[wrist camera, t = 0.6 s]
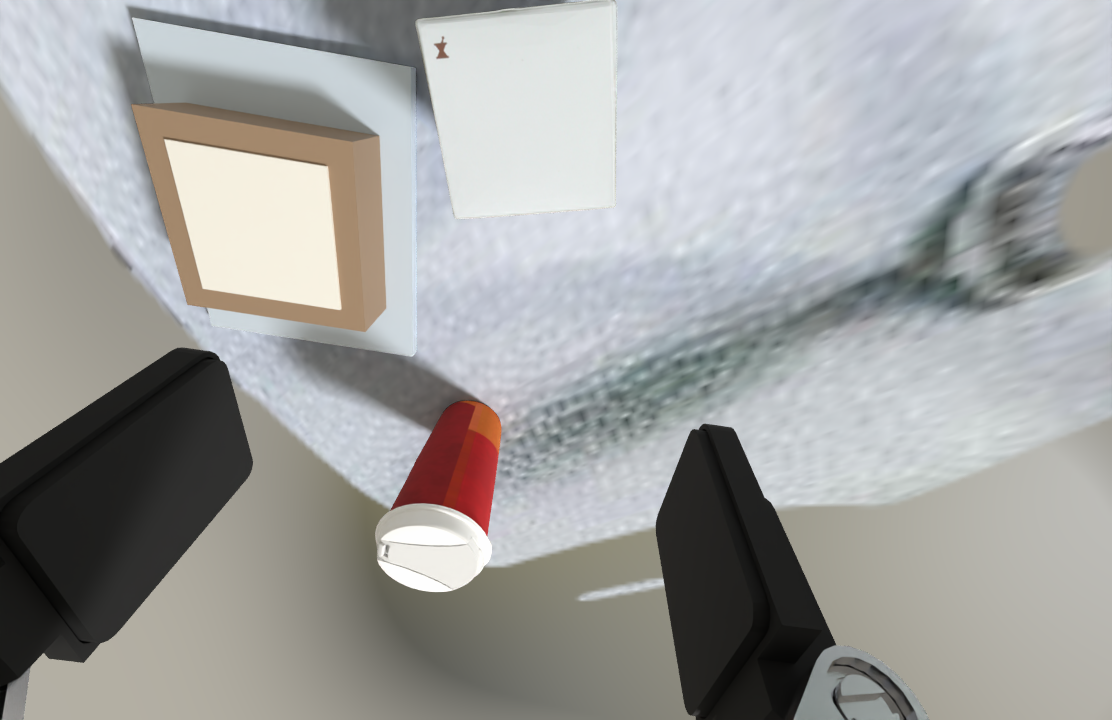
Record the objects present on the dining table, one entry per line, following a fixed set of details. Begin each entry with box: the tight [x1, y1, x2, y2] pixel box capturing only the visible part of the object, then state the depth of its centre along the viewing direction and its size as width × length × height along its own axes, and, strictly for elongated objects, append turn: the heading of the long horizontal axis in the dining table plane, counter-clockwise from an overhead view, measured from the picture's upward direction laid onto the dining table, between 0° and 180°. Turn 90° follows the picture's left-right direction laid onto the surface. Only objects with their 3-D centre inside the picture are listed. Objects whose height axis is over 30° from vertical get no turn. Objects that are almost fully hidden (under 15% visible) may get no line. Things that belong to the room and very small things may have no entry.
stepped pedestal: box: [131, 18, 417, 357], centre depth 30 cm, size 20×16×5 cm
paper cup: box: [375, 401, 501, 592], centre depth 36 cm, size 8×8×14 cm
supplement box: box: [415, 0, 617, 219], centre depth 23 cm, size 7×7×13 cm
